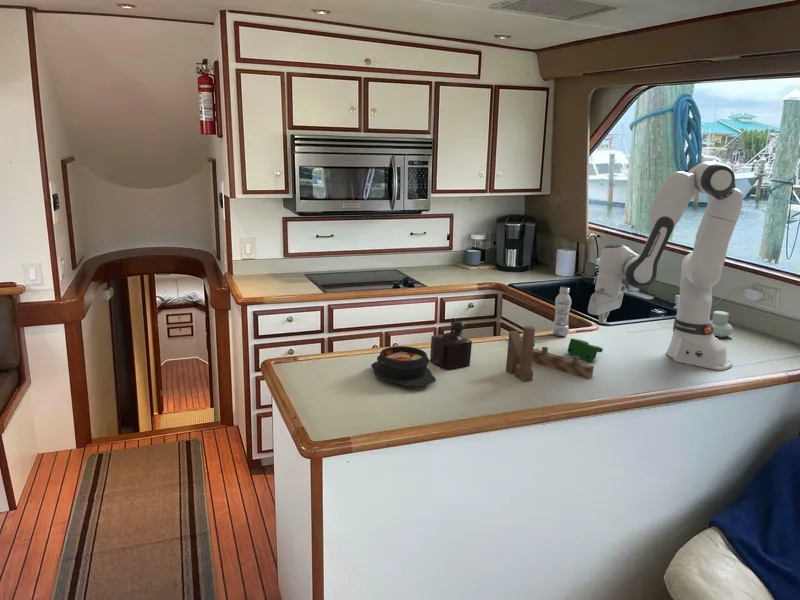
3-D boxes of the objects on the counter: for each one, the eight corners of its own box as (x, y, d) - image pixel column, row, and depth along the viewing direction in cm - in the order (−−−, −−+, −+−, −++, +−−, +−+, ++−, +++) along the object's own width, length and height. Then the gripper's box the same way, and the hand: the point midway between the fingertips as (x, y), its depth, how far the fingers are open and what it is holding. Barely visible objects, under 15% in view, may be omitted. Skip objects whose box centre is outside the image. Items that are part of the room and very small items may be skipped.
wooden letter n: (514, 369, 216) (518, 319, 211) (532, 381, 206) (538, 328, 202) (505, 371, 214) (509, 320, 210) (523, 382, 205) (528, 329, 200)
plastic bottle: (559, 338, 252) (564, 290, 248) (548, 333, 258) (553, 286, 253) (571, 337, 255) (577, 289, 250) (560, 332, 261) (565, 285, 256)
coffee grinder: (427, 361, 220) (430, 312, 216) (453, 357, 226) (456, 308, 221) (453, 376, 207) (456, 324, 203) (480, 371, 213) (484, 320, 209)
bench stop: (592, 377, 212) (594, 360, 210) (588, 379, 210) (590, 362, 208) (531, 358, 228) (532, 342, 227) (526, 360, 226) (528, 344, 224)
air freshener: (700, 331, 272) (704, 309, 269) (718, 331, 272) (722, 309, 270) (715, 339, 261) (719, 316, 259) (734, 339, 262) (738, 316, 259)
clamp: (593, 370, 231) (607, 352, 227) (582, 369, 228) (596, 350, 224) (575, 349, 240) (588, 331, 236) (564, 347, 236) (577, 329, 232)
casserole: (357, 370, 209) (358, 346, 207) (403, 361, 220) (404, 338, 218) (401, 396, 190) (402, 370, 187) (449, 385, 200) (450, 360, 198)
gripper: (602, 292, 225) (596, 329, 229) (627, 285, 240) (621, 320, 243) (586, 288, 229) (581, 324, 233) (612, 282, 244) (606, 316, 247)
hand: (602, 322), depth 238 cm, fingers closed
